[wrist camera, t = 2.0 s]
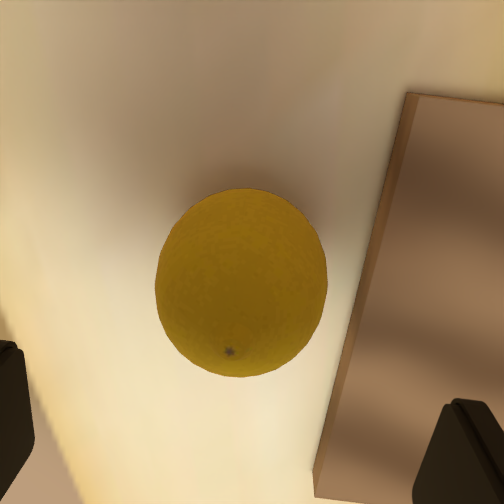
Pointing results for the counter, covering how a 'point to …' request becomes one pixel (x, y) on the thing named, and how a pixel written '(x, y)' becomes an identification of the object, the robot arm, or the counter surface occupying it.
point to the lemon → (241, 283)
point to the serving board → (421, 303)
